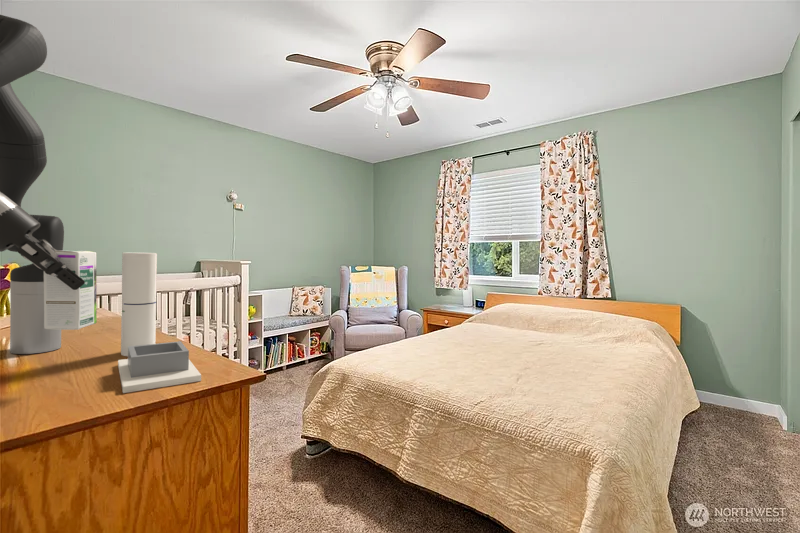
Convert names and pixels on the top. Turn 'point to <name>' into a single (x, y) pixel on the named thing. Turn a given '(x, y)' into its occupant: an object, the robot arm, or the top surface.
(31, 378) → the top surface
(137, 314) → the cylindrical container
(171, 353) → the dock
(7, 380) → the top surface
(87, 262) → the syrup box
